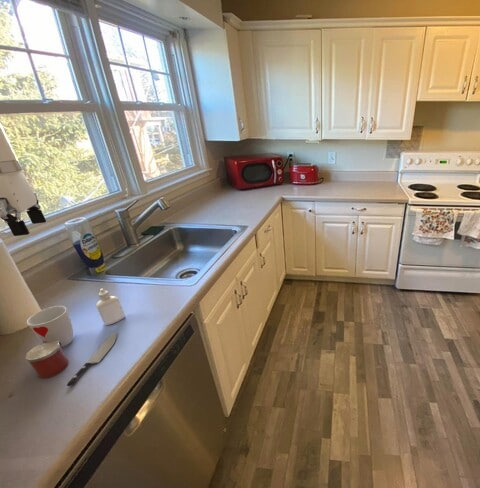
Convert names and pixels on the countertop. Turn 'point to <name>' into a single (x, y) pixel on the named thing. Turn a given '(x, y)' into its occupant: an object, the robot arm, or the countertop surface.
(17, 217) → the robot arm
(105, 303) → the eye dropper bottle
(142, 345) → the countertop surface
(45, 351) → the spice tin
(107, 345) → the chef's knife
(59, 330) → the cup
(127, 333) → the countertop surface
